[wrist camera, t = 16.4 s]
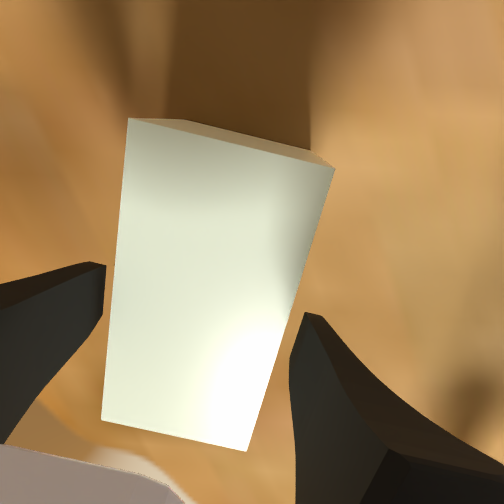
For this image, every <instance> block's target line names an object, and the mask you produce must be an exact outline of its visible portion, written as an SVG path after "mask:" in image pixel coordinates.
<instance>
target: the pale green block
mask: <svg viewBox="0 0 504 504" xmlns="http://www.w3.org/2000/svg"><path fill="white" fill-rule="evenodd" d="M334 171H335V168H334V167H332V166H331V165H330V164H328V163H327V162H326V161H324V160H323V159H322V158H320V157H319V156H317V155H316V154H315V153H313V152H312V151H311V150H307V149H302V148H298V147H294V146H290V145H286V144H282V143H278V142H274V141H270V140H266V139H262V138H258V137H254V136H250V135H246V134H242V133H238V132H234V131H230V130H225V129H221V128H217V127H213V126H209V125H205V124H201V123H197V122H193V121H189V120H185V119H153V118H128V127H127V138H126V149H125V160H124V171H123V182H122V193H121V204H120V216H119V227H118V238H117V249H116V260H115V271H114V282H113V293H112V304H111V315H110V326H109V337H108V348H107V359H106V370H105V381H104V392H103V404H102V415H101V420H104V421H108V422H113V423H118V424H122V425H127V426H131V427H136V428H141V429H145V430H150V431H154V432H159V433H164V434H168V435H173V436H177V437H182V438H186V439H191V440H196V441H200V442H205V443H209V444H214V445H219V446H223V447H228V448H232V449H237V450H242V451H247V448H248V444H249V441H250V438H251V435H252V432H253V428H254V425H255V422H256V419H257V416H258V413H259V409H260V406H261V403H262V400H263V397H264V394H265V390H266V387H267V384H268V381H269V378H270V374H271V371H272V368H273V365H274V362H275V359H276V355H277V352H278V349H279V346H280V343H281V340H282V336H283V333H284V330H285V327H286V324H287V320H288V317H289V314H290V311H291V308H292V305H293V301H294V298H295V295H296V292H297V289H298V286H299V282H300V279H301V276H302V273H303V270H304V266H305V263H306V260H307V257H308V254H309V251H310V247H311V244H312V241H313V238H314V235H315V232H316V228H317V225H318V222H319V219H320V216H321V212H322V209H323V206H324V203H325V200H326V197H327V193H328V190H329V187H330V184H331V181H332V178H333V174H334Z"/></svg>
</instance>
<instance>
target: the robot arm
mask: <svg viewBox="0 0 504 504" xmlns="http://www.w3.org/2000/svg"><path fill="white" fill-rule="evenodd" d="M105 278H106V265H103V264H98V263H94V262H90V261H89V262H83V263H79V264H75V265H71V266H67V267H64V268H60V269H57V270H53V271H50V272H46V273H43V274H39V275H35V276H32V277H27V278H23V279H19V280H15V281H11V282H7V283H3V284H0V504H185V503H184V502H183V500H181V498H180V497H179V496H178V495H177V494H176V493H175V492H174V491H173V490H172V489H171V488H170V487H169V486H168V485H167V484H164V483H162V482H159V481H157V480H154V479H152V478H150V477H147V476H145V475H142V474H139V473H134V472H130V471H125V470H121V469H116V468H112V467H107V466H102V465H97V464H93V463H89V462H84V461H80V460H75V459H70V458H66V457H61V456H56V455H52V454H48V453H43V452H38V451H34V450H29V449H25V448H20V447H15V446H11V445H6V444H4V443H5V441H6V440H7V438H8V437H9V435H10V434H11V432H12V431H13V429H14V428H15V427H16V425H17V424H18V422H19V421H20V419H21V418H22V416H23V415H24V414H25V412H26V411H27V410H28V408H29V407H30V405H31V404H32V403H33V401H34V400H35V398H36V397H37V396H38V395H39V393H40V392H41V391H42V390H43V388H44V387H45V386H46V385H47V384H48V383H49V381H50V380H51V379H52V378H53V377H54V376H55V375H56V373H57V372H58V371H59V370H60V369H61V368H62V367H63V365H64V364H65V363H66V362H67V361H68V360H69V359H70V357H71V356H72V355H73V354H74V353H75V352H76V351H77V349H78V348H79V347H80V346H81V345H82V344H83V342H84V341H85V340H86V339H87V338H88V336H89V335H90V333H91V332H92V330H93V329H94V327H95V326H96V324H97V323H98V321H99V319H100V318H101V316H102V315H103V303H104V290H105ZM289 391H290V401H291V411H292V420H293V430H294V439H295V454H296V501H295V504H504V466H503V464H501V463H500V462H498V461H496V460H494V459H493V458H491V457H489V456H487V455H486V454H484V453H482V452H480V451H479V450H477V449H475V448H473V447H472V446H470V445H468V444H466V443H465V442H463V441H461V440H460V439H458V438H456V437H455V436H453V435H452V434H450V433H449V432H447V431H445V430H444V429H442V428H441V427H439V426H438V425H436V424H435V423H433V422H432V421H430V420H429V419H428V418H426V417H425V416H423V415H422V414H420V413H419V412H418V411H417V410H415V409H414V408H413V407H411V406H410V405H409V404H407V403H406V402H405V401H403V400H402V399H401V398H400V397H398V396H397V395H396V394H395V393H394V392H392V391H391V390H390V389H389V388H388V387H387V386H386V385H385V384H383V383H382V382H381V381H380V380H379V379H378V378H377V377H376V376H375V375H374V374H373V373H372V372H371V371H370V370H369V369H368V368H367V367H366V366H365V365H364V364H363V363H362V362H361V361H360V360H359V359H358V358H357V357H356V356H355V355H354V353H353V352H352V351H351V350H350V349H349V348H348V347H347V345H346V344H345V343H344V342H343V341H342V339H341V338H340V337H339V336H338V335H337V333H336V332H335V331H334V330H333V328H332V327H331V326H330V325H329V324H328V322H327V321H326V320H325V319H324V318H323V317H322V316H320V315H316V314H312V313H308V312H305V313H304V316H303V319H302V322H301V325H300V328H299V331H298V334H297V337H296V340H295V343H294V346H293V349H292V352H291V355H290V361H289Z"/></svg>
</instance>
